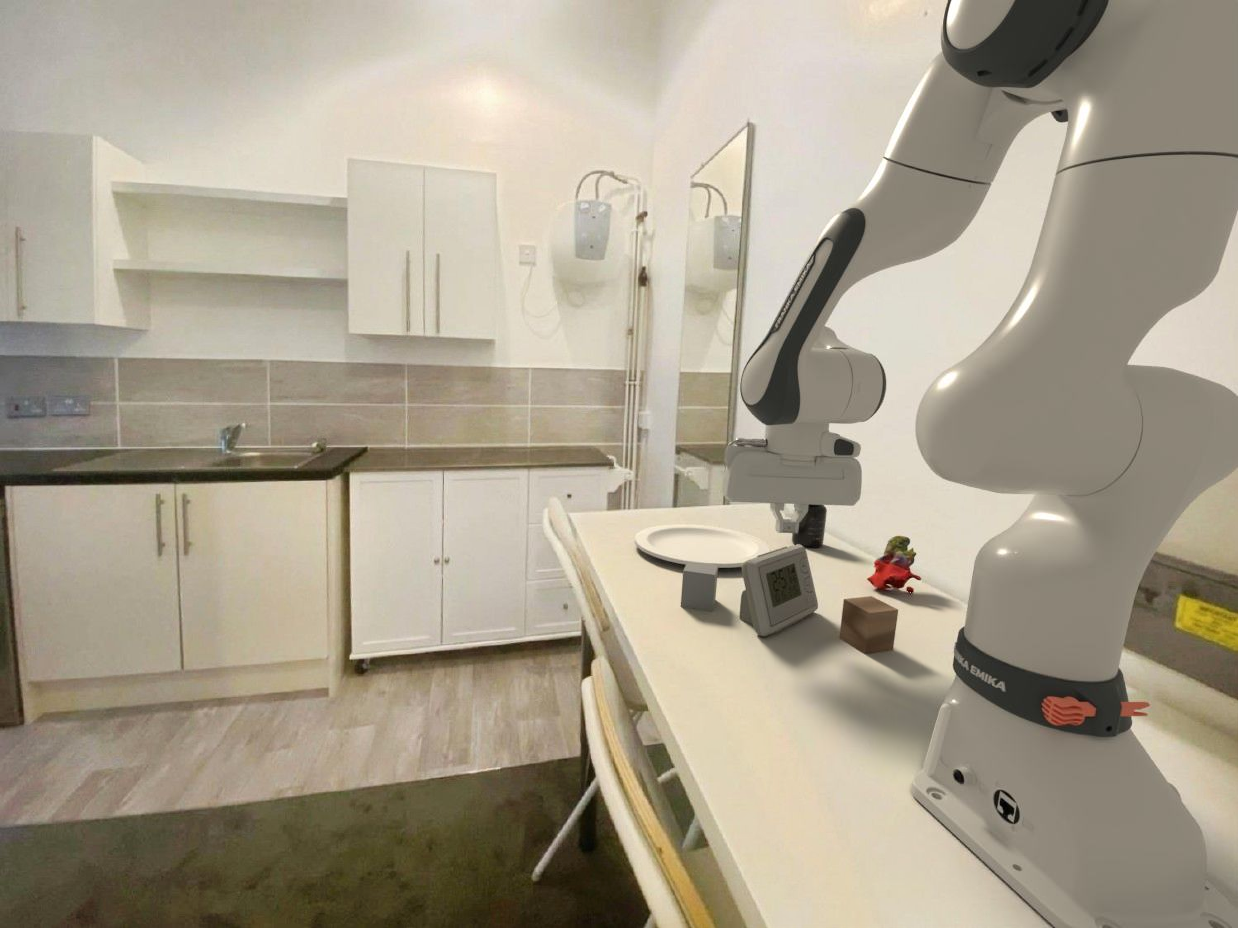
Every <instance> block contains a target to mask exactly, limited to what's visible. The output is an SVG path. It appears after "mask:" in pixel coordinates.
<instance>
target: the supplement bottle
mask: <svg viewBox="0 0 1238 928" xmlns="http://www.w3.org/2000/svg"><path fill="white" fill-rule="evenodd" d="M796 510H797V509H795V508H794V512H795V511H796ZM827 512H828V509H827V507H826V505H813V504H809V506H808V512H807V513H806V515H805V516H804V518H803V519H802V520H801V522H799V529H798V533H791V542H792V543H793V545H795V544H796V545H797V544H800V545H802V546H803V547H804V548H805V549H806V548H807V549H819V548H822V546H824V545H823V544H824V538H825V530H826V521H827Z"/></svg>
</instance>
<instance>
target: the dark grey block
mask: <svg viewBox="0 0 1238 928" xmlns="http://www.w3.org/2000/svg"><path fill="white" fill-rule="evenodd" d="M682 570H683V571H682V580H681V581H682V582H681V583H682V585H681V597H680V607H681V608H689V609H693V610H694V609H695V610H700V611H708V612H713V609H714V606H715V602H716V596H717V595H716V594H717V585H718V573H719V568H718V565H713V564H705V563H698V562H690V561H688V562H687V564H686V565H685V566H684V568H683V569H682Z"/></svg>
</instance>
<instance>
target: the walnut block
mask: <svg viewBox="0 0 1238 928" xmlns="http://www.w3.org/2000/svg"><path fill="white" fill-rule="evenodd" d="M898 616H899V609H898V608H896V607H893V606H892V605H890V604H887V603H886V602H884V601H882V600H880V599H878V598H876V597H874V596H873V595H869V596H862V597H861V596H859V597H853V598H844V599H843V604H842V611H841V621H840V630H839V637H838V638H839V640H841V641H843V642H845V643H846V644H847V645H849V646H851V647H852V648H853V649H856V650H857V651H859V652H860V653H862V655H863V654H864V655H869V654H878V653H883V652H890V651H894V645H895V637H896V630H897V623H898Z"/></svg>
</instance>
